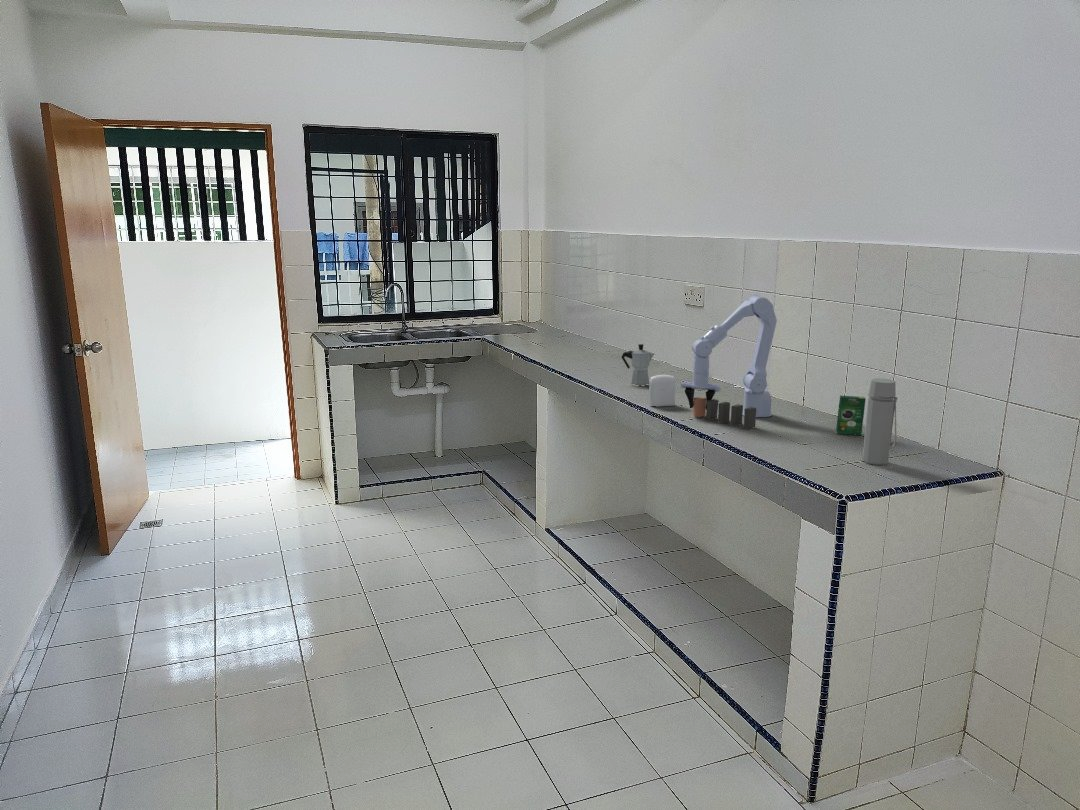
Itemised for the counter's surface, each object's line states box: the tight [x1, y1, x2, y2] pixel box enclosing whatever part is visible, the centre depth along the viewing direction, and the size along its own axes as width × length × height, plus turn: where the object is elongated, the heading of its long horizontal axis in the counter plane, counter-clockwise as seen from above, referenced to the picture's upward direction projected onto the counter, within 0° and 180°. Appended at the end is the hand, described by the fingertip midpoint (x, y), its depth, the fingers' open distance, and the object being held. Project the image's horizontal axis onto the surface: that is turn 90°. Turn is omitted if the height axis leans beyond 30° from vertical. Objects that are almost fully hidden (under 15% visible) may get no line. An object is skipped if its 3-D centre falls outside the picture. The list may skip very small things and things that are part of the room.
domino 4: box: [743, 407, 757, 430], centre depth 269 cm, size 2×4×7 cm, turn 130°
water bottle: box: [862, 378, 898, 466], centre depth 227 cm, size 9×8×25 cm
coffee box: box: [835, 395, 866, 436], centre depth 259 cm, size 8×3×13 cm, turn 77°
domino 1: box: [705, 398, 719, 421], centre depth 281 cm, size 2×4×7 cm, turn 130°
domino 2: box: [717, 401, 731, 424], centre depth 277 cm, size 2×4×7 cm, turn 131°
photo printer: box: [648, 374, 676, 407], centre depth 301 cm, size 10×4×12 cm, turn 96°
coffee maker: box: [621, 343, 655, 385], centre depth 340 cm, size 15×9×18 cm, turn 84°
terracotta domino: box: [692, 396, 706, 418], centre depth 285 cm, size 2×4×7 cm, turn 98°
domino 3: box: [730, 403, 744, 427], centre depth 273 cm, size 2×4×7 cm, turn 130°
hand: (699, 408), depth 285 cm, fingers open, 5 cm apart
